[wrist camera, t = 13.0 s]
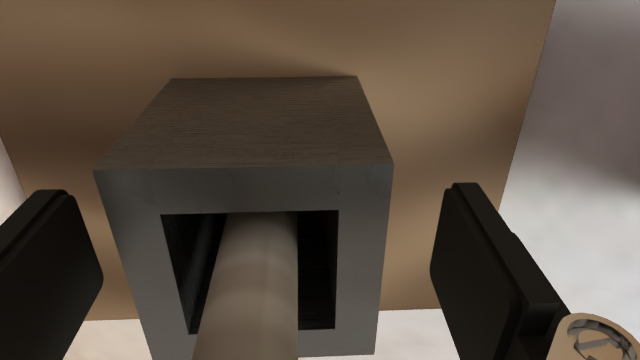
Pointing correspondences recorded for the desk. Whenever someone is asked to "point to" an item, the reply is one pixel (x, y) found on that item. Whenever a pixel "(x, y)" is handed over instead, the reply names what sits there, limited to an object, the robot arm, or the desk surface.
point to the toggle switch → (272, 61)
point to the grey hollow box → (252, 201)
